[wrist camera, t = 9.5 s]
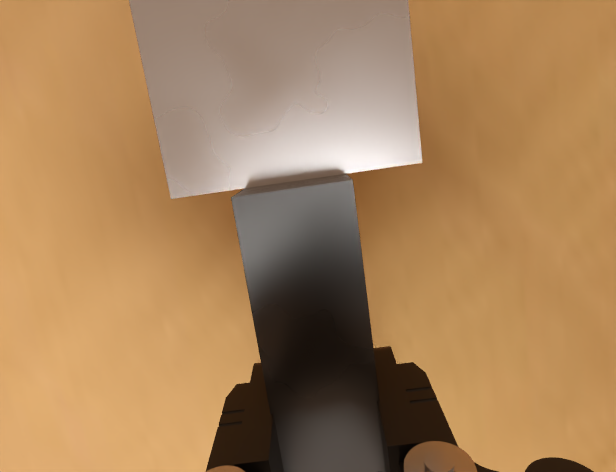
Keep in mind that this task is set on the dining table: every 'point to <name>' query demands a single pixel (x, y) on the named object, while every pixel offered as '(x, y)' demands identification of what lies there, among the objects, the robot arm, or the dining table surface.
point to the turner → (291, 184)
